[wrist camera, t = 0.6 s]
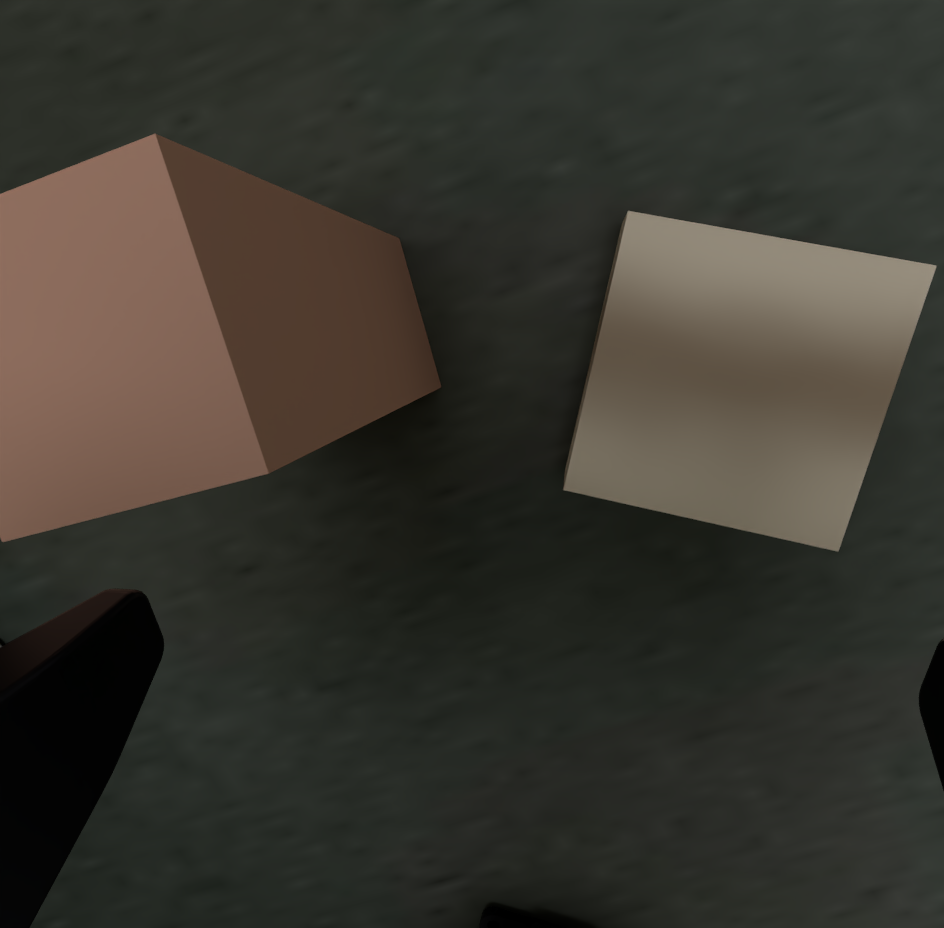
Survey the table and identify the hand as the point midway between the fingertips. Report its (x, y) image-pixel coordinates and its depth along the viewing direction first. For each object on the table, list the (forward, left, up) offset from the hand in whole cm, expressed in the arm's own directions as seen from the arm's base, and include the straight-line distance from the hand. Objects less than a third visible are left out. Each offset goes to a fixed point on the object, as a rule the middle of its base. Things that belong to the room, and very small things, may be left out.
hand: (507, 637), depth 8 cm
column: (+2, +7, -15) cm, 17 cm away
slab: (+3, -5, -16) cm, 16 cm away
